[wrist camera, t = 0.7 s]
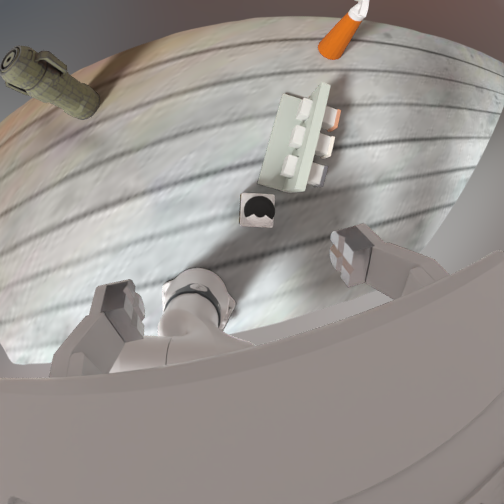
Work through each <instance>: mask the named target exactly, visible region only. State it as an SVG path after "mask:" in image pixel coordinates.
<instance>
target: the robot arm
mask: <svg viewBox="0 0 504 504" xmlns="http://www.w3.org/2000/svg"><path fill="white" fill-rule="evenodd" d="M331 241H332V243H333V245H332V247H331V248H330V260H331V263H332V265H333V267H334V268H335V270H336V271H339V272H341V278H342V280H343V281H344V283H345V284H346V285H347V287H351V286H355V285H358V284H361V283H365V282H366V284H368V285H369V286H371V287H373V288H375V289H376V290H378V291H380V292H382V293H383V294H385V295H387V296H389V297H390V298H392V299H394V300H393V301H390V302H388V303H385V304H383V305H380V306H378V307H375V308H372V309H370V310H367V311H365V312H362V313H359V314H356V315H354V316H351V317H348V318H345V319H342V320H339V321H337V322H334V323H331V324H328V325H325V326H322V327H318V328H315V329H312V330H309V331H306V332H303V333H300V334H296V335H293V336H290V337H286V338H282V339H279V340H275V341H272V342H268V343H264V344H261V345H257V346H255V345H254V344H253V343H251V342H250V341H246V340H242V339H239V338H236V337H233V336H231V335H228V334H226V333H225V332H223V329H224V327H225V325H226V323H227V321H228V319H229V317H230V315H231V313H232V311H233V309H234V307H235V304H236V302H235V300H234V299H233V298H232V297H231V296H230V295H229V294H228V292H227V289H226V286H225V284H224V283H223V281H222V280H221V278H220V277H219V276H218V275H216V274H215V273H213V272H212V271H209V270H207V269H203V268H192V269H188V270H186V271H184V272H182V273H181V274H179V275H178V276H177V277H176V278H175V279H174V280H171V281H168V282H166V283H164V284H163V287H162V298H163V315H162V317H161V318H160V320H159V323H158V336H144V324H143V323H142V320H143V319H144V318H145V308H144V303H143V301H142V298H141V296H140V295H139V294H138V293H136V292H135V285H134V283H133V281H132V280H130V279H128V280H123V281H119V282H114V283H109V284H105V285H101V286H98V287H97V288H96V290H95V294H94V297H93V301H92V305H91V309H90V313H89V315H87V316H85V318H84V319H83V320H82V321H81V322H80V323H79V324H78V326H77V327H76V328H75V329H74V330H73V332H72V333H71V334H70V335H69V336H68V338H67V339H66V340H65V341H64V342H63V344H62V345H61V346H60V347H59V349H58V350H57V351H56V352H55V354H54V356H53V360H52V364H51V369H50V374H49V378H0V504H504V251H500V250H497V251H494V252H492V253H490V254H489V255H487V256H485V257H484V258H482V259H480V260H478V261H476V262H475V263H472V264H471V265H469V266H467V267H465V268H463V269H461V270H459V271H457V272H455V273H453V274H451V275H449V274H448V273H447V272H446V270H445V269H444V268H443V267H442V266H440V264H438V262H437V261H436V260H435V259H432V258H429V257H427V256H424V255H422V254H419V253H416V252H414V251H411V250H408V249H405V248H403V247H400V246H397V245H394V244H391V243H389V242H388V243H385V242H384V241H383V240H382V239H381V238H380V237H379V236H378V235H377V234H376V233H375V232H374V231H372V230H371V229H370V228H369V227H368V226H367V225H366V224H363V223H362V224H359V225H355V226H353V227H349V228H344V229H340V230H336V231H332V233H331ZM229 307H230V309H228V308H229Z"/></svg>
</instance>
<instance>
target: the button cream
mask: <svg viewBox="0 0 504 504" xmlns="http://www.w3.org/2000/svg"><path fill="white" fill-rule="evenodd" d="M305 130H306V128H305V127H302V126H299V125H296V126H295V127H294V128H293V130H292V133H291V137H290V141H289V145H288V146H290V147H293V148H296V149H299V148H300V147H301V145H302V142H303V138H304V134H305ZM334 140H335V137H333V136H331V137H330V136H328V135H325V134H322V133H320V134H319V138H318V142H317V146H316V150H315V154H314V155H317V156H320V157H321V158H322V159H325V158H327V157H330V156H331V153H332V149H333V144H334Z"/></svg>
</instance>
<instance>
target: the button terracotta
mask: <svg viewBox="0 0 504 504" xmlns="http://www.w3.org/2000/svg"><path fill="white" fill-rule="evenodd" d="M312 102H313V100H310V99H307V98H303V99H302V101H301V102H300V103H299V107H298V111H297V115H296V118H295V119H297V120H301V121H303V122H305V121H306V120H307V119H308V118H309V114H310V110H311V106H312ZM340 113H341V110H339V109H337V110H336V109H334V108H331V107H329V106H326V108H325V113H324V117H323V121H322V125H321V128H323V129H326V130H327V131H328V132H331V131H333V130H334V129H336V128H337V127H338V122H339V118H340Z"/></svg>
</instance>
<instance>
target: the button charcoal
mask: <svg viewBox="0 0 504 504" xmlns="http://www.w3.org/2000/svg"><path fill="white" fill-rule="evenodd" d="M297 161H298V157H296V156H292V155H288V156H286V157H285V159H284V163H283V167H282V171H281V174H280V175H282V176H285V177H288V178H293V176H294V172H295V168H296V165H297ZM327 169H328V166H326V165H324V166H322V165H320V164H317V163H314V162H312V166H311V169H310V173H309V177H308V181H307V183H308V184H311V185H314V187H323V185H324V181H325V177H326V173H327Z"/></svg>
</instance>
